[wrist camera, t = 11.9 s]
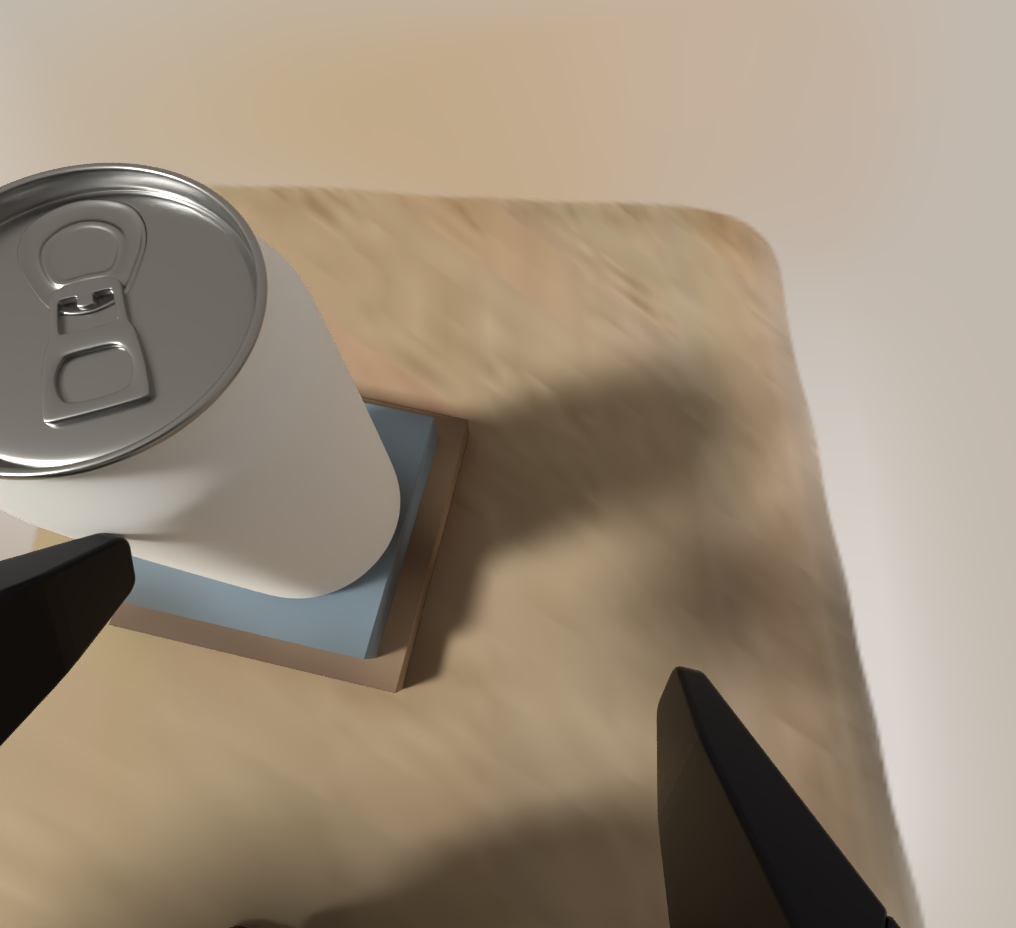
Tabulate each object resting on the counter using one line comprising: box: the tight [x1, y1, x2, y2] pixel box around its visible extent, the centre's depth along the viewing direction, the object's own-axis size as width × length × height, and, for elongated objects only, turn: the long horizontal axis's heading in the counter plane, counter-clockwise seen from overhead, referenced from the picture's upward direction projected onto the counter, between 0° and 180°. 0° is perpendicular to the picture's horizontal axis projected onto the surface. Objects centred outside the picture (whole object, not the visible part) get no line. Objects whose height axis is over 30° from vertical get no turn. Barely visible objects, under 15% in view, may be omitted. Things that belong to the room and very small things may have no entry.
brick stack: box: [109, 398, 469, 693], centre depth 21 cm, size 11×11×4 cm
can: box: [0, 163, 400, 598], centre depth 14 cm, size 6×6×12 cm
